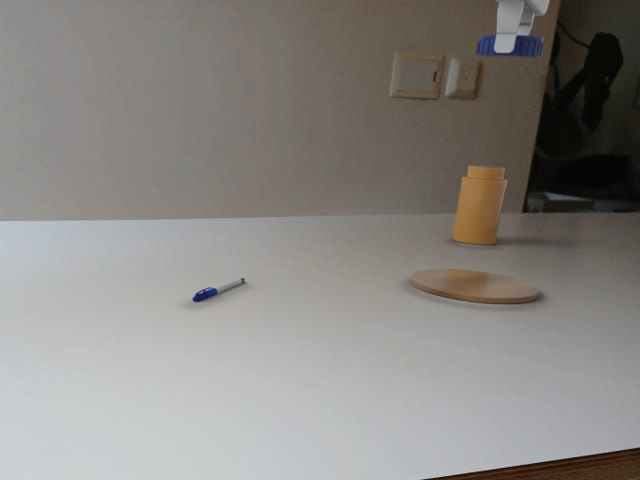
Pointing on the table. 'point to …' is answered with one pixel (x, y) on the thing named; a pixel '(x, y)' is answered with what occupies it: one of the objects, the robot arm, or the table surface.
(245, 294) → the table surface
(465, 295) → the coaster
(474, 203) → the jar
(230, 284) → the ballpoint pen
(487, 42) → the lid
